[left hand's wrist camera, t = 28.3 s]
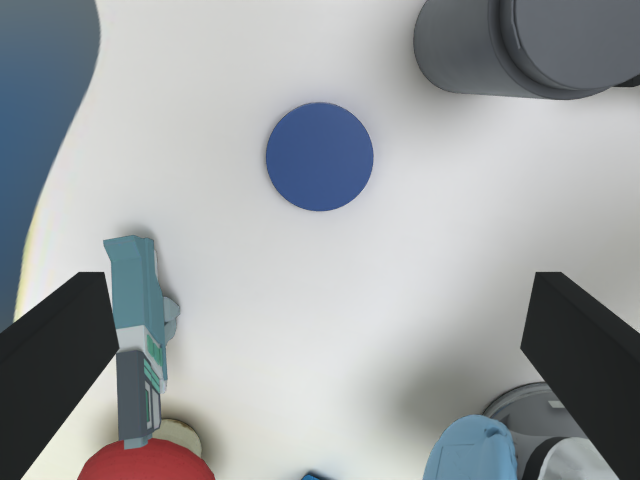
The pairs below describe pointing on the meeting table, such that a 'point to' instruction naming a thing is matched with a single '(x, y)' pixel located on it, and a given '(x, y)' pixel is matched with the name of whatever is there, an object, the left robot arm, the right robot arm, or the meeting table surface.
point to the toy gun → (139, 336)
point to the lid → (319, 156)
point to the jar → (528, 46)
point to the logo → (309, 478)
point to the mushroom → (152, 458)
